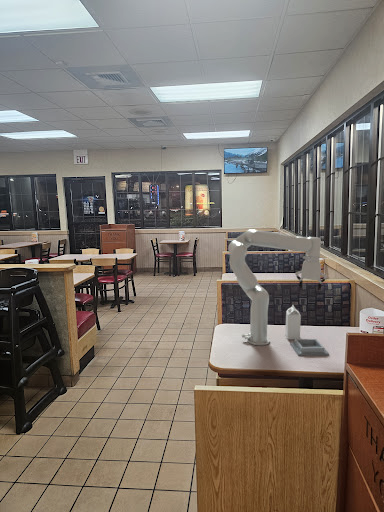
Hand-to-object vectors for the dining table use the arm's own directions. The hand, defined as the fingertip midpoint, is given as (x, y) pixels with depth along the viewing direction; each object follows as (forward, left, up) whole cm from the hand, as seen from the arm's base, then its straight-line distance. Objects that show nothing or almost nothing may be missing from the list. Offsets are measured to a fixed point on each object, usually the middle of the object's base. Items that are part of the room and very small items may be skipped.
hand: (309, 288), depth 202 cm
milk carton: (-8, +2, -30) cm, 31 cm away
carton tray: (-4, -15, -30) cm, 34 cm away
